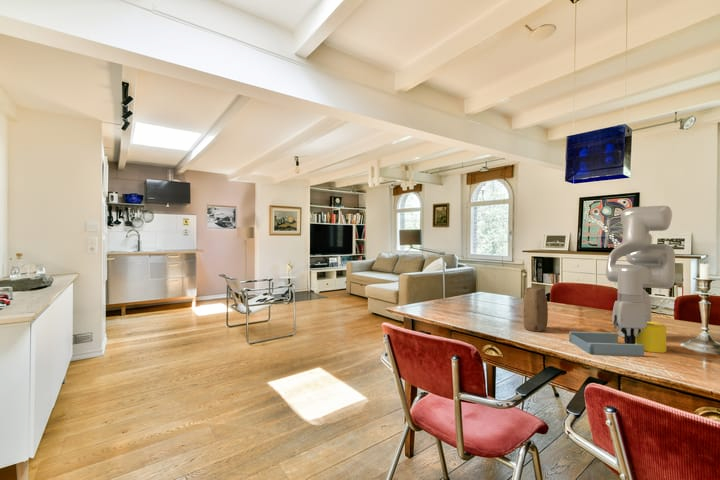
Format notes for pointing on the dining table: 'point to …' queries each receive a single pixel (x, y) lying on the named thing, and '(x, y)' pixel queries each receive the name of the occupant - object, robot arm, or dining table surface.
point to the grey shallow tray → (604, 344)
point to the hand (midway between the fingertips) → (630, 345)
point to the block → (535, 309)
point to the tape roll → (653, 337)
